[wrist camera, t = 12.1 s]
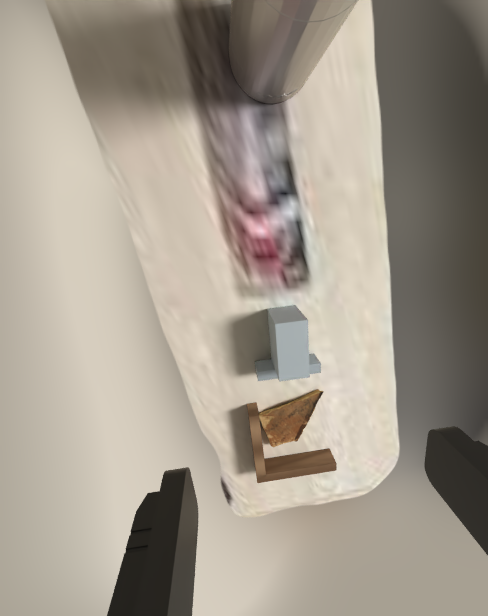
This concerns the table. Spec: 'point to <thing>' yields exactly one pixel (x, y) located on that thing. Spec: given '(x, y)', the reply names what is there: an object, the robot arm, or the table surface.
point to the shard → (289, 419)
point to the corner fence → (285, 457)
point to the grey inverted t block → (287, 347)
